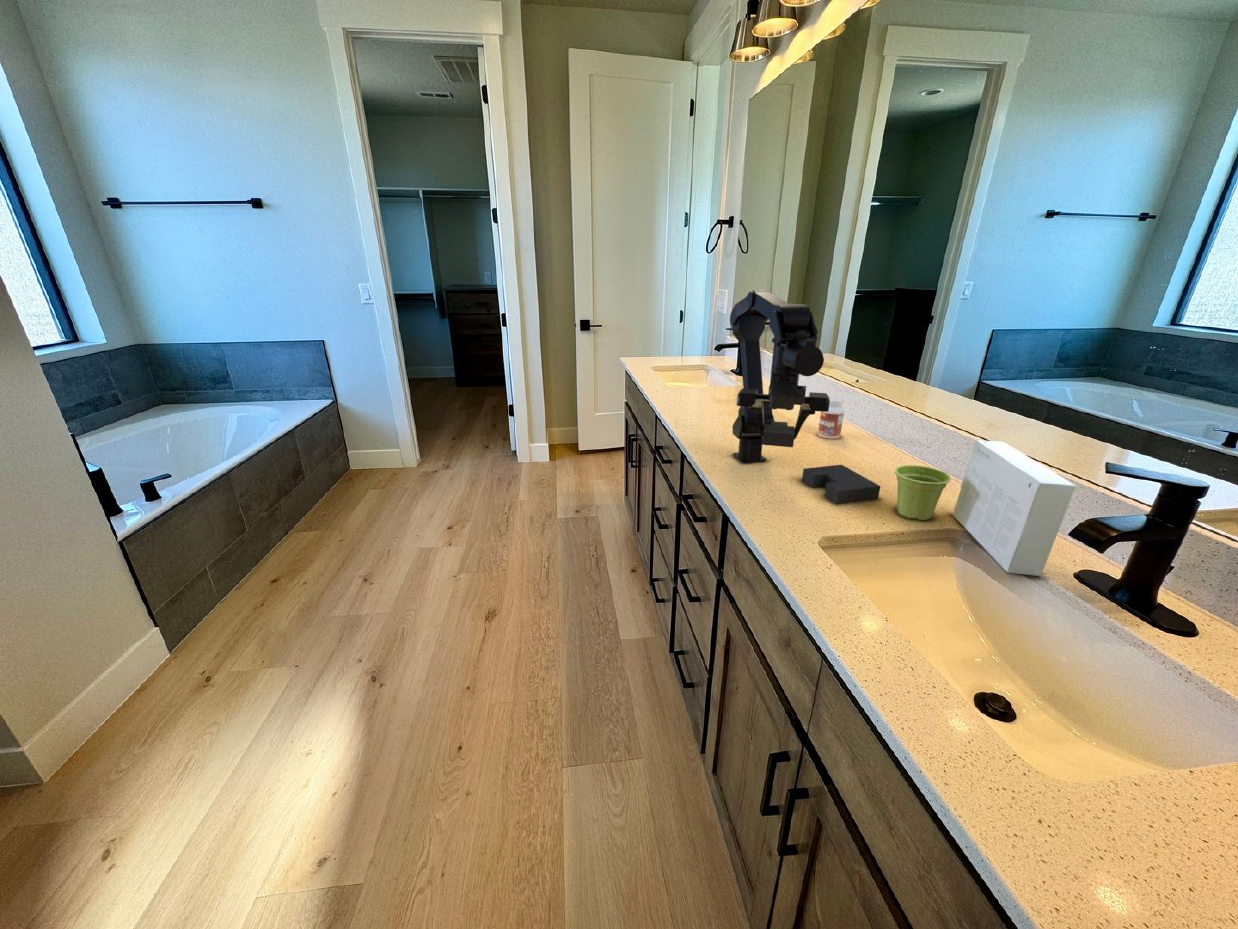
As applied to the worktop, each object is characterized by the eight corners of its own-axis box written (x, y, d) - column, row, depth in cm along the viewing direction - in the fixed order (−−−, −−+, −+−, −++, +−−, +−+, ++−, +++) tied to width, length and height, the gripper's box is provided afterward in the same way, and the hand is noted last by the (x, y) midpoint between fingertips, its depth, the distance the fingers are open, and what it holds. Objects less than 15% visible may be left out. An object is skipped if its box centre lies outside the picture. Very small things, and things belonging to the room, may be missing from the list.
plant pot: (876, 508, 100) (884, 469, 97) (908, 500, 104) (917, 461, 101) (918, 528, 92) (928, 486, 89) (952, 518, 96) (962, 477, 93)
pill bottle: (813, 435, 145) (818, 398, 141) (825, 431, 149) (830, 395, 145) (832, 440, 140) (838, 402, 136) (844, 436, 144) (850, 399, 140)
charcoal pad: (801, 480, 114) (803, 468, 113) (839, 476, 116) (841, 464, 115) (836, 504, 102) (838, 491, 101) (878, 499, 104) (880, 486, 103)
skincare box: (1046, 578, 77) (1078, 485, 71) (1006, 574, 78) (1036, 483, 72) (982, 516, 96) (1004, 439, 91) (951, 514, 97) (971, 438, 92)
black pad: (761, 444, 108) (763, 431, 107) (764, 432, 116) (765, 420, 115) (793, 447, 106) (794, 434, 105) (793, 435, 114) (794, 422, 113)
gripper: (736, 372, 99) (731, 445, 105) (836, 376, 94) (824, 453, 99) (741, 363, 109) (736, 430, 115) (832, 366, 104) (822, 437, 109)
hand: (778, 437), depth 109 cm, fingers closed on black pad, 6 cm apart
